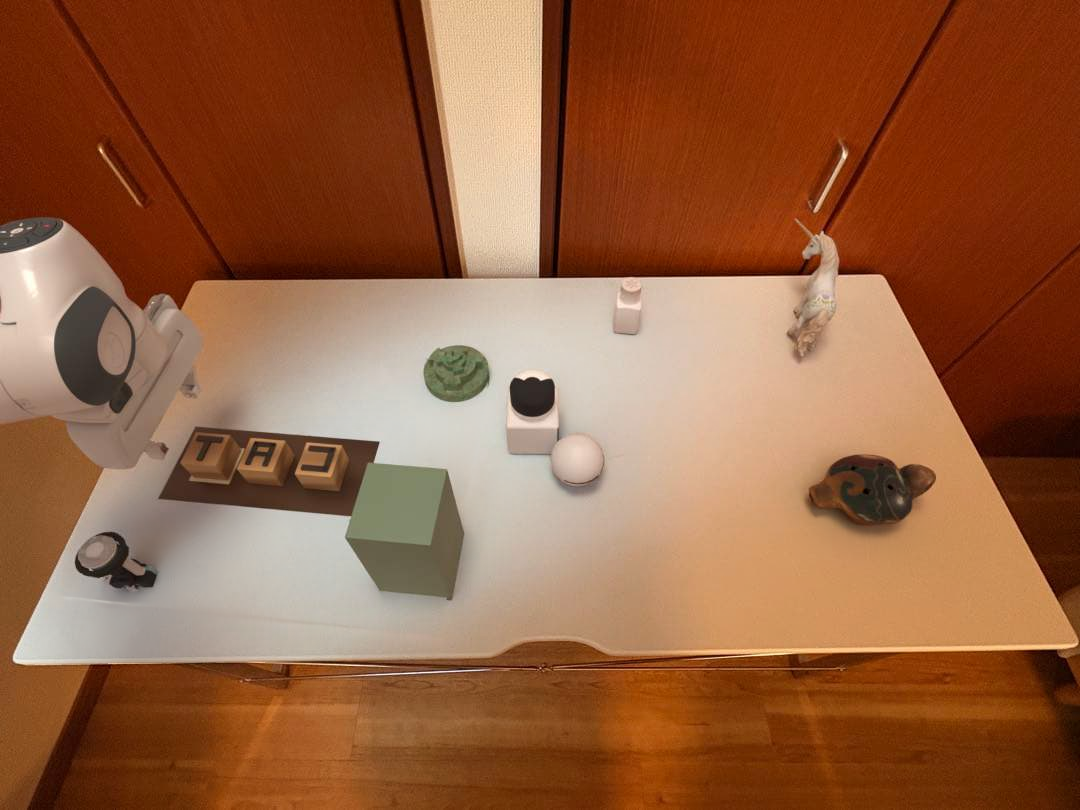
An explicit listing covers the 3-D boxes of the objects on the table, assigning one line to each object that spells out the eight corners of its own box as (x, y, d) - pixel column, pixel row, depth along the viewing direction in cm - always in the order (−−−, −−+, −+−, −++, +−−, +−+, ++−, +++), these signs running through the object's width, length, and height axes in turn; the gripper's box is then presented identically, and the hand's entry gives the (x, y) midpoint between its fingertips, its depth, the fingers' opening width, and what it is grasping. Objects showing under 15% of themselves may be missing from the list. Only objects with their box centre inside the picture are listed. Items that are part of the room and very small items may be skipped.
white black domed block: (558, 455, 88) (559, 406, 79) (508, 454, 88) (503, 406, 79) (557, 414, 93) (559, 363, 83) (510, 414, 93) (506, 363, 83)
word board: (358, 520, 83) (356, 516, 82) (161, 502, 85) (157, 498, 84) (381, 445, 90) (379, 441, 89) (198, 430, 92) (195, 425, 91)
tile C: (339, 491, 84) (330, 475, 81) (304, 488, 85) (293, 472, 81) (349, 460, 87) (341, 443, 84) (315, 457, 87) (305, 441, 84)
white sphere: (548, 494, 85) (548, 467, 79) (552, 449, 89) (552, 420, 83) (620, 500, 84) (626, 473, 78) (621, 454, 88) (626, 425, 82)
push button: (101, 602, 76) (49, 573, 68) (117, 561, 80) (69, 529, 72) (155, 601, 77) (109, 571, 68) (169, 560, 80) (126, 527, 72)
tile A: (283, 486, 85) (271, 470, 81) (248, 483, 85) (235, 467, 82) (295, 455, 88) (284, 439, 84) (261, 452, 88) (249, 436, 85)
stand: (451, 600, 76) (430, 545, 62) (381, 593, 77) (344, 537, 63) (464, 533, 81) (447, 468, 68) (398, 527, 82) (367, 462, 68)
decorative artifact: (497, 395, 95) (480, 349, 100) (493, 366, 89) (476, 319, 95) (433, 412, 93) (420, 364, 99) (426, 384, 87) (412, 335, 93)
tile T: (228, 480, 85) (214, 465, 82) (193, 477, 86) (178, 461, 82) (242, 450, 88) (229, 433, 85) (208, 447, 89) (194, 430, 85)
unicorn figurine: (811, 281, 109) (840, 218, 98) (837, 366, 97) (873, 305, 87) (770, 280, 109) (794, 218, 98) (791, 364, 98) (822, 304, 87)
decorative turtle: (929, 524, 81) (960, 500, 75) (819, 546, 81) (839, 523, 74) (894, 460, 87) (920, 432, 80) (790, 480, 86) (807, 453, 79)
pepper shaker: (614, 316, 104) (619, 274, 97) (637, 318, 104) (645, 276, 96) (612, 333, 102) (617, 291, 94) (636, 336, 102) (644, 294, 94)
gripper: (136, 283, 73) (190, 359, 84) (35, 423, 61) (114, 490, 72) (186, 287, 73) (234, 362, 84) (95, 428, 61) (165, 495, 72)
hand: (178, 423), depth 78 cm, fingers open, 8 cm apart
